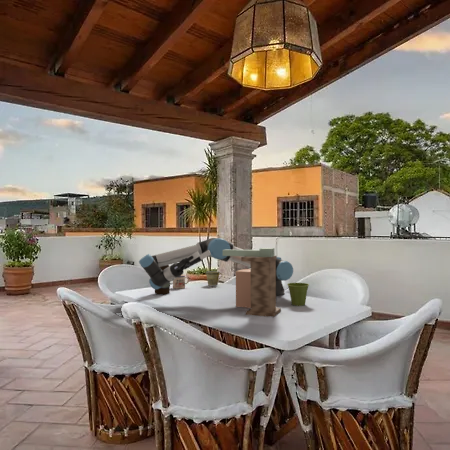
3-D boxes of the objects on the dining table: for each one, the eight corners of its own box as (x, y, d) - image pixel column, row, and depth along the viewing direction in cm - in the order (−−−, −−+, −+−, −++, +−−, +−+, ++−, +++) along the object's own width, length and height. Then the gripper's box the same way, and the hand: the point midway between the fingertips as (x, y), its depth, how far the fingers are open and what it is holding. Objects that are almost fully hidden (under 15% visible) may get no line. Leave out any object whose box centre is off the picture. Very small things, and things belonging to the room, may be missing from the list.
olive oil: (150, 293, 246) (150, 255, 246) (164, 291, 253) (164, 254, 253) (160, 295, 238) (159, 255, 238) (173, 293, 245) (173, 254, 245)
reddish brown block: (235, 306, 203) (235, 271, 204) (244, 301, 216) (244, 268, 217) (261, 308, 198) (260, 272, 198) (268, 303, 211) (268, 269, 211)
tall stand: (241, 314, 185) (241, 257, 185) (250, 308, 198) (250, 255, 198) (273, 317, 179) (273, 257, 179) (280, 310, 192) (280, 255, 192)
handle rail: (221, 255, 194) (221, 248, 194) (226, 255, 199) (226, 247, 199) (271, 257, 184) (271, 248, 184) (274, 256, 189) (274, 248, 189)
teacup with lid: (174, 289, 262) (174, 272, 262) (170, 287, 270) (170, 271, 270) (191, 288, 267) (191, 271, 267) (186, 286, 276) (186, 270, 276)
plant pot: (283, 303, 210) (283, 283, 210) (301, 302, 215) (300, 282, 215) (295, 307, 199) (295, 286, 200) (313, 305, 204) (313, 284, 204)
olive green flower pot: (203, 286, 276) (203, 272, 277) (210, 284, 285) (210, 270, 285) (219, 287, 270) (219, 273, 270) (225, 285, 279) (225, 271, 279)
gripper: (187, 275, 218) (217, 257, 211) (164, 280, 195) (196, 261, 188) (182, 263, 219) (210, 245, 212) (158, 267, 196) (190, 247, 189)
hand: (204, 252), depth 200 cm, fingers open, 13 cm apart
